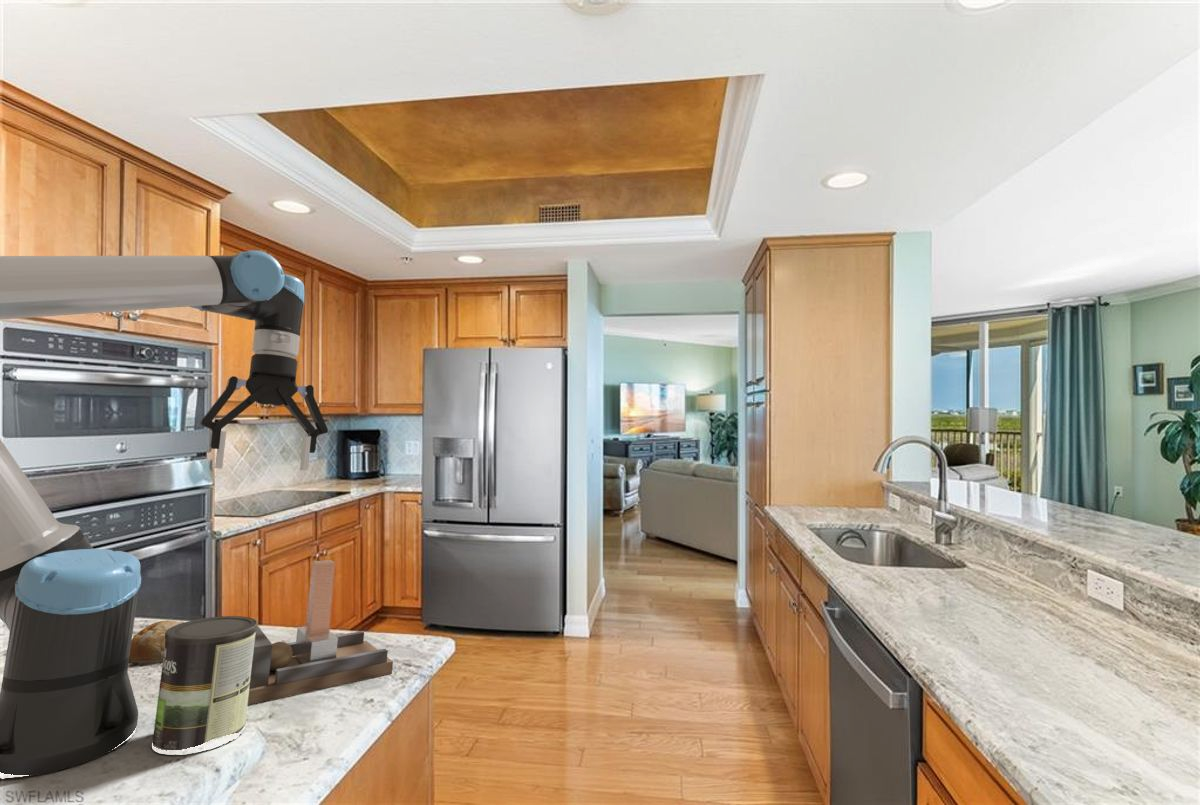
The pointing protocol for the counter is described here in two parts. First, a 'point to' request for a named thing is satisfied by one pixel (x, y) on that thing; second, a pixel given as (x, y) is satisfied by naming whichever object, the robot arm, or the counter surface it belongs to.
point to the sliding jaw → (318, 617)
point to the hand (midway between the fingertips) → (263, 469)
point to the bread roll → (150, 643)
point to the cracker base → (311, 667)
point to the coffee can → (204, 681)
